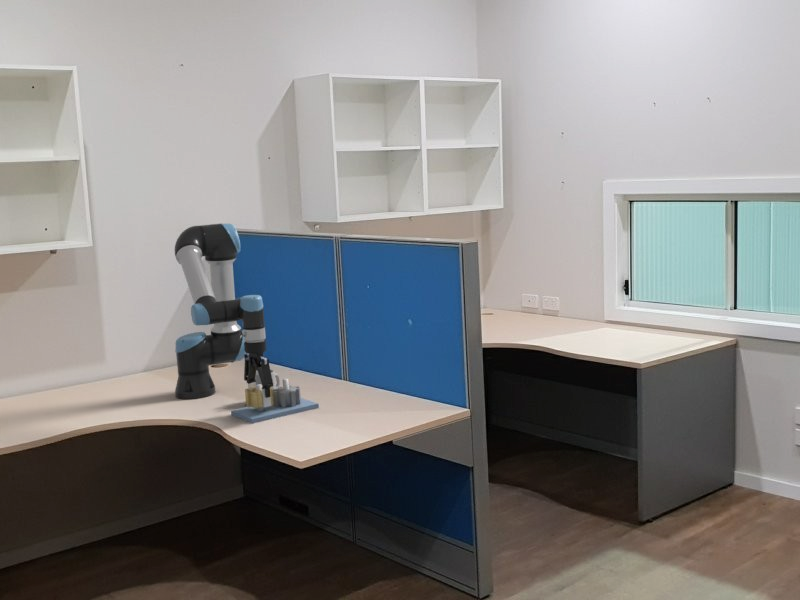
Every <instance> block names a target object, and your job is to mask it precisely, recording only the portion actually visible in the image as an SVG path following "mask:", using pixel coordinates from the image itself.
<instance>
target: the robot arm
mask: <svg viewBox="0 0 800 600" xmlns="http://www.w3.org/2000/svg"><path fill="white" fill-rule="evenodd" d="M239 253H241V240H240V236H239V232H238V230H237V228H236V227H235V225H234V224H233V223H214V224H213V223H212V224H203V225H193V226H189V227H187V228H186V229H184V230H182V231H181V233H180V234H179V236H178V238H177V239H176V241H175V244H174V257H175V259H176V261H177V263H178V264H180V265H181V268H182V271H183V274H184V278H185V280H186V283H187V286H188V289H189V292H190V295H191V298H192V301H193V304H192V305H191V307H190V315H191V320H192V323H193V325H194V326H208V325H209V326H210V325H213V326H212V327H211V328H210V334H207V333H206V332H205V331H197V332H191V333H187V334H184V335H182V336H179V337H178V338H177V339H176V341H175V350H174V351H175V354H176V365H177V375H178V376H177V381H176V385H175V390H174V393H175V394H174V395H175V398H176V399H183V400H190V399H191V400H192V399H201V398H205V397H209V396H212V395H214V394H215V393H216V385H215V383H214V380H213V379H212V376H211V374H210V368H209V367H210V366H215V365H221V364H228V363H232V364H233V363H235V362H239V361H242V360H244V370H243V371H244V373H243V374H244V375H243V380H244V381H245V382H246V384H247V387H248V388H247V389H250V388H251V387H256V383H255V382H256V380H255V375H256V371H258V373H259V376H260V379H261V382H262V385H263V387H262V388H261V389H262V396H263V407H268V406H271V394H270V387H272V386H273V380H272V376H271V371H270V370H271V367H270V358H269V357H265V355H264V353H265V352H266V351H267V350H268V348H267V340H266V339H267V338H266V326H265V325H266V324H265V315H264V312H265V311H264V303H263V297H262V296H261V295H260V294H249V295H248V294H247V295H243V296H241V297H237V298H236V295H235V294H236V291H235V279H234V278H235V277H234V267H233V264H234V262H235V261H236V260H237V254H239ZM202 257H204V259H205V262H207V263H208V264H209V272H210V279H209V276H208V273H207V271H206V268H205V267H206V266H205V265H204V263H203V260H202ZM239 321H241V323H242V324H241V325H242V327H241V325H240V324H238V322H239ZM253 382H254V383H253Z"/></svg>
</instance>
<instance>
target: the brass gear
mask: <svg viewBox="0 0 800 600" xmlns="http://www.w3.org/2000/svg"><path fill="white" fill-rule="evenodd" d="M262 387H263V386H262ZM244 393H245V405H246V407H248V408H249V407H254V408H259V407H263V396H262V390H256V387H251V388H250V389H248V388H245V389H244ZM270 394H271V405H273V404H274V396H273V388H272V387H270Z"/></svg>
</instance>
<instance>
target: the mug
mask: <svg viewBox="0 0 800 600" xmlns="http://www.w3.org/2000/svg"><path fill="white" fill-rule="evenodd" d="M270 371H271V376H272V380H273V386H272V388H273V389H277V388H278V387H281V382H280V381H281V380H280V379H281V378H280V376H279V374H278V373H276V372H275V370H273V369H270ZM255 380H256V382H255V383H256V385H258V384H261V385H262V382H261V379H260V376H259V373H258V371H257V370H256V375H255ZM253 383H254V382H253ZM262 386H263V385H262Z"/></svg>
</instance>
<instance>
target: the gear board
mask: <svg viewBox="0 0 800 600" xmlns="http://www.w3.org/2000/svg"><path fill="white" fill-rule="evenodd" d="M289 384H290V383H289V378H283V379H282V386H280V387H278V388H277V389H273V396H274V404H273V405H271V406H268V407H259V408H254V407H249V408H248V407H247V406H245V407H240V408H237V409H231V410H230V415H231V416H232V417H236V418H239V419H241V420H244V421H245V422H248V423H251V424H255V423H260V422H265V421H269V420H273V419H277V417H278V418H281V416H282V417H285V416H290V415H293V414H297V413H302V412H307V411H311V410H315V409H320V406H319V402H315V401H311V400H309V399H306V398H303V397H301V388H300V386H298V385H297V386H292V385H289ZM261 388H262V385H261V384H258V385H256V390H262V389H261ZM272 418H273V419H272Z"/></svg>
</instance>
